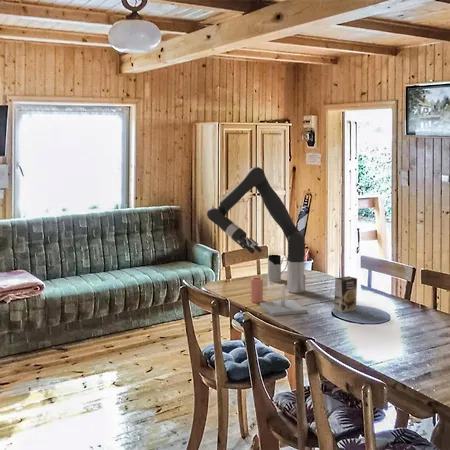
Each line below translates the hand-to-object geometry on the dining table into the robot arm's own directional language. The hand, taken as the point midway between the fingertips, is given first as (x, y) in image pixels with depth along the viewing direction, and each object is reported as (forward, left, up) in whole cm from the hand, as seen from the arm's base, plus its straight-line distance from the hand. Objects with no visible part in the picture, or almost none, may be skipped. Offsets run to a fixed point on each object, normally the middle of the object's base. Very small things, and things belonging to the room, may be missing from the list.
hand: (257, 251), depth 289 cm
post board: (-6, +23, -25) cm, 34 cm away
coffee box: (-35, +33, -25) cm, 54 cm away
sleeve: (+2, +6, -25) cm, 26 cm away
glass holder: (-25, -35, -25) cm, 50 cm away
